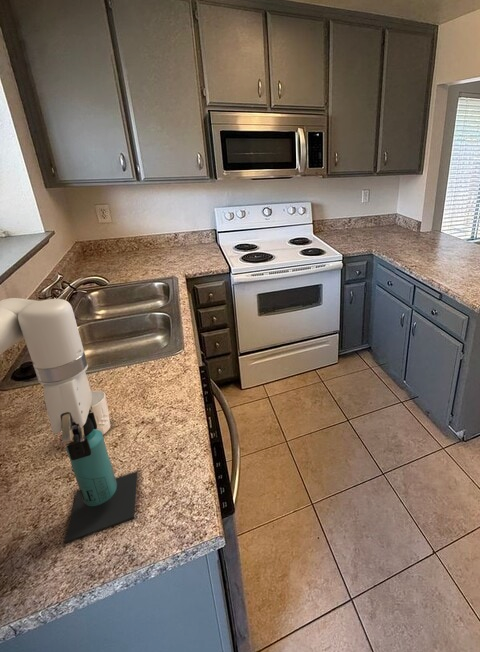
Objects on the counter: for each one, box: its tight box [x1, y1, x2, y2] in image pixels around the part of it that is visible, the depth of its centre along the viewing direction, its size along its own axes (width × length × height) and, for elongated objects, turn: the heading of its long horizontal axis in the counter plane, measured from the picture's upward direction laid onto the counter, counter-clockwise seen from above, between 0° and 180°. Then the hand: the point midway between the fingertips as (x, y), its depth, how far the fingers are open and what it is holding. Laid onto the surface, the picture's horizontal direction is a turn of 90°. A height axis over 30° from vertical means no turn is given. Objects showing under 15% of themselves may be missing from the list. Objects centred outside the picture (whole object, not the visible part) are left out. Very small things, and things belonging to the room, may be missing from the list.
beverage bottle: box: [65, 417, 118, 506], centre depth 72 cm, size 6×7×20 cm
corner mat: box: [64, 471, 138, 544], centre depth 76 cm, size 12×12×1 cm
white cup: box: [90, 389, 111, 435], centre depth 95 cm, size 8×8×10 cm
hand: (85, 442), depth 71 cm, fingers closed on beverage bottle, 6 cm apart
